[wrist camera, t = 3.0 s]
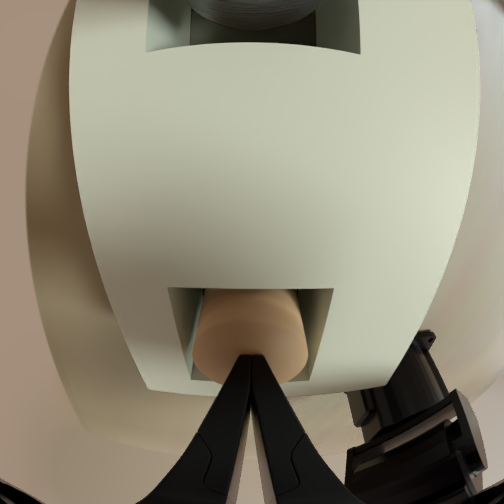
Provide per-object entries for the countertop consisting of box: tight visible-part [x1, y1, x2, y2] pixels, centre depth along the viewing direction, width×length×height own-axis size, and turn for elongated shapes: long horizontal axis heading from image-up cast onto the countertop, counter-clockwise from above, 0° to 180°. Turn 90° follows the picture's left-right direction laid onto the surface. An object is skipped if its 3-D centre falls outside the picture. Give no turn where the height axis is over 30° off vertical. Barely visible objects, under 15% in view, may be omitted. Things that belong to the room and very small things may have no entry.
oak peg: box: [192, 288, 308, 385], centre depth 11 cm, size 4×4×5 cm
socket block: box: [69, 0, 480, 397], centre depth 9 cm, size 12×20×5 cm, turn 179°
